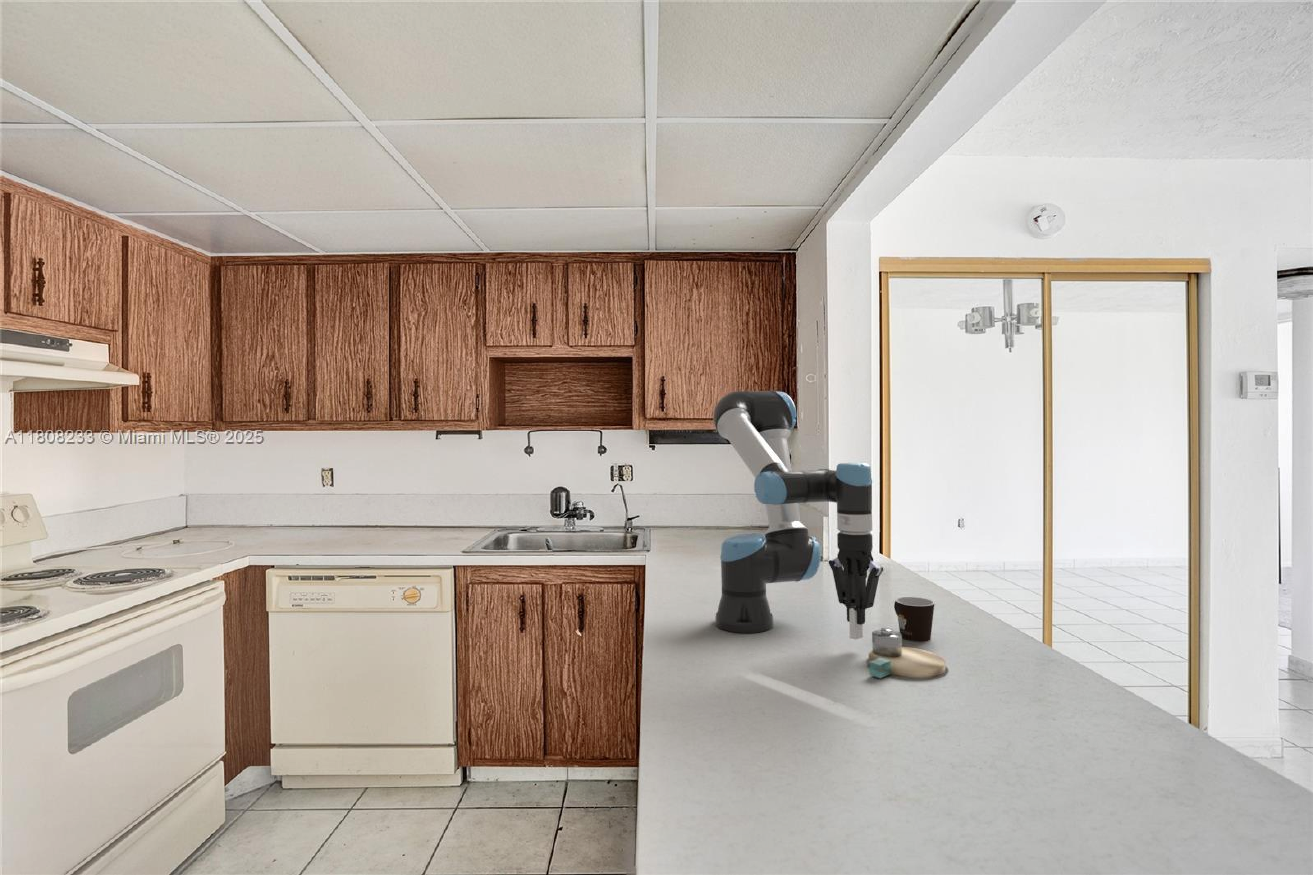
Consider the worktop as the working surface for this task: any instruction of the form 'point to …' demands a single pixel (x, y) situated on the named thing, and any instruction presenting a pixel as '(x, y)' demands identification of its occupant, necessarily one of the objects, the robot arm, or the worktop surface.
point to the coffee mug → (914, 618)
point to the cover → (886, 643)
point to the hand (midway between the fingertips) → (856, 637)
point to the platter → (908, 664)
